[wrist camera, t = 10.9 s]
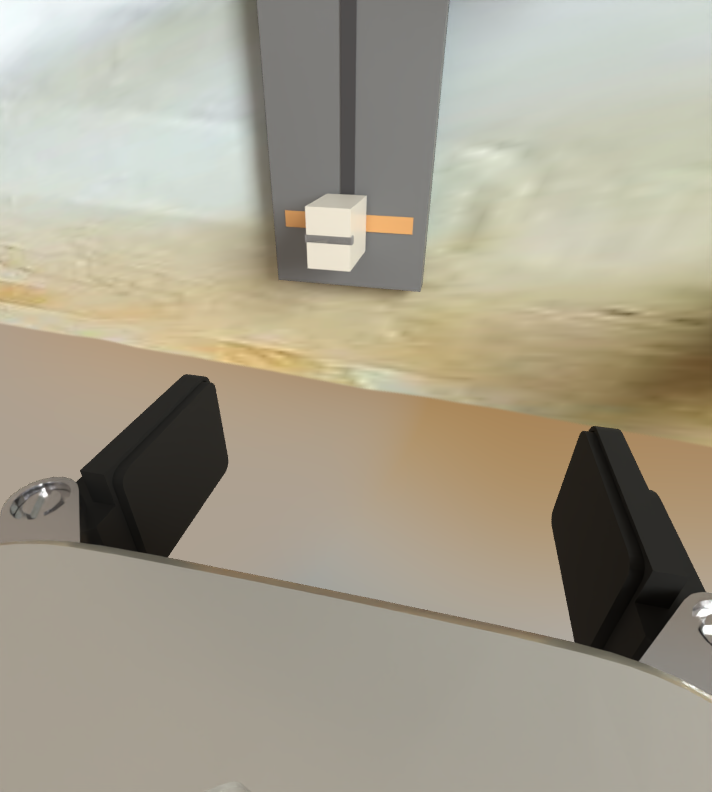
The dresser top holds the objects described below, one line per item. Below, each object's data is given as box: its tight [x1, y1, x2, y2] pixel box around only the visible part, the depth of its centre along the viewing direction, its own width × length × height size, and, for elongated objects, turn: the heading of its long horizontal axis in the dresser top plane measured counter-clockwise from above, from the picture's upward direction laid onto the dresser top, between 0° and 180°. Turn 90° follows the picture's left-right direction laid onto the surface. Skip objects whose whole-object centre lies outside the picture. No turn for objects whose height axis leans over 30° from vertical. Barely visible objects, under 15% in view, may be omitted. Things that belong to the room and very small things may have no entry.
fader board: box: [257, 0, 450, 292], centre depth 32 cm, size 12×24×2 cm, turn 179°
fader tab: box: [305, 194, 367, 272], centre depth 32 cm, size 3×4×5 cm
